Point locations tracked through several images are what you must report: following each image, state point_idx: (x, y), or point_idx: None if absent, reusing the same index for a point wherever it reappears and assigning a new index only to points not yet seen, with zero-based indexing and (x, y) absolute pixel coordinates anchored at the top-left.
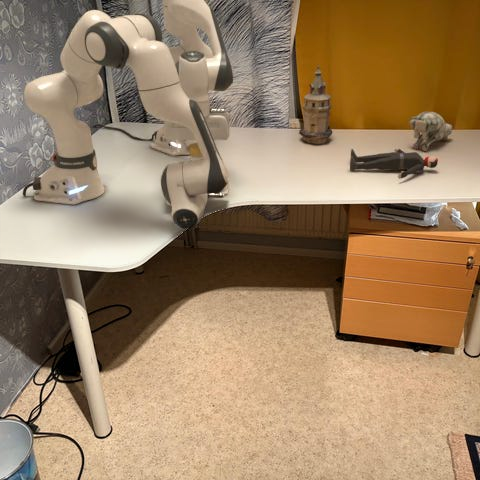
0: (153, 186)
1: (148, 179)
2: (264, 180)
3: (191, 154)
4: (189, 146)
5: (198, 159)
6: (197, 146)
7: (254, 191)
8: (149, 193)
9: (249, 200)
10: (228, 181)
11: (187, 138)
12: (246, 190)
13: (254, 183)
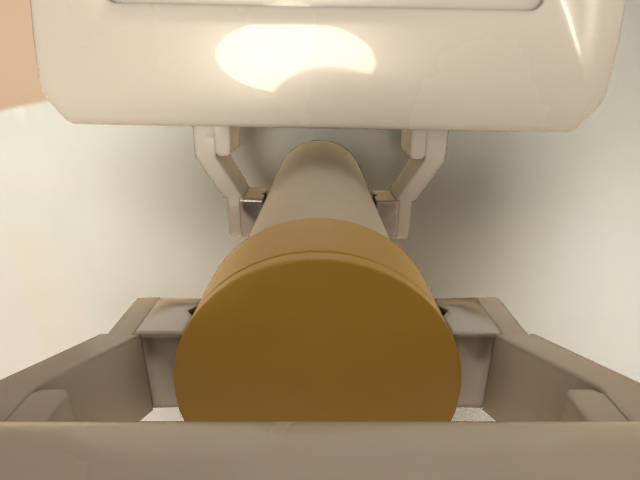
0: (594, 286)
1: (617, 367)
2: (4, 367)
3: (399, 249)
4: (452, 355)
5: (304, 216)
6: (315, 357)
7: (17, 236)
8: (621, 195)
9: (9, 111)
10: (39, 74)
11: (566, 440)
12: (65, 248)
13: (46, 333)
